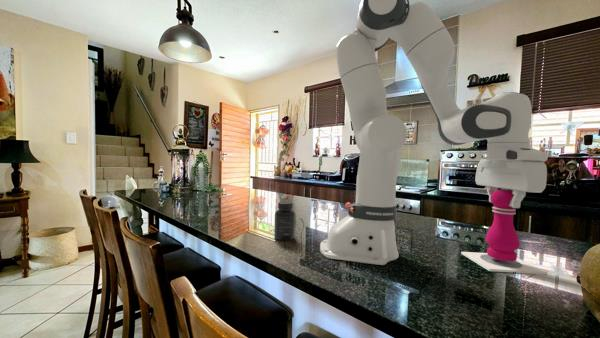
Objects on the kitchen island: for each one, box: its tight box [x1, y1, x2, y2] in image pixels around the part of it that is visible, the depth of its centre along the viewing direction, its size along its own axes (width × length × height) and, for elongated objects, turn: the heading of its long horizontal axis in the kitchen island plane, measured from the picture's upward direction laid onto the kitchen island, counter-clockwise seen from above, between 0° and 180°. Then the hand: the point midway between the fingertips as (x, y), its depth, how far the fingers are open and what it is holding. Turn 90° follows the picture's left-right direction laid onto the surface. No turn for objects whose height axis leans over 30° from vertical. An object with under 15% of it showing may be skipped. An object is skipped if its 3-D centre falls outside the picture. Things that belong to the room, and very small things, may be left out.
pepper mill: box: [485, 188, 521, 261], centre depth 69 cm, size 7×7×20 cm
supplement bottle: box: [273, 201, 296, 242], centre depth 84 cm, size 7×7×12 cm
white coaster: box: [460, 251, 548, 275], centre depth 69 cm, size 14×12×1 cm
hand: (503, 205), depth 69 cm, fingers closed on pepper mill, 6 cm apart
